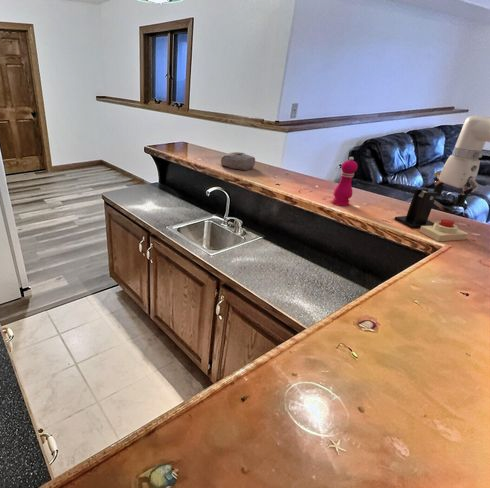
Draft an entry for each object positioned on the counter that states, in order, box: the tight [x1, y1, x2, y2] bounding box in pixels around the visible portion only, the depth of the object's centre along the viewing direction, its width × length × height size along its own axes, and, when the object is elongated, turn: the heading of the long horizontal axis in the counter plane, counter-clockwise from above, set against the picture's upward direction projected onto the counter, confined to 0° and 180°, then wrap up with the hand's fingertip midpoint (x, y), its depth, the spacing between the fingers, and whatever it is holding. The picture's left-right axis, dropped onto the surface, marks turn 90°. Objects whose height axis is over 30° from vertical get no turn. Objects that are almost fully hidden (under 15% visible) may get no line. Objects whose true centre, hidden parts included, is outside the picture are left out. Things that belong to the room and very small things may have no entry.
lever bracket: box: [393, 188, 438, 230], centre depth 128 cm, size 10×9×13 cm
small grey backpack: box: [219, 151, 256, 171], centre depth 204 cm, size 15×8×20 cm
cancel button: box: [440, 218, 455, 228], centre depth 120 cm, size 4×4×2 cm
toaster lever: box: [418, 190, 453, 214], centre depth 128 cm, size 14×5×2 cm, turn 99°
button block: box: [418, 220, 469, 242], centre depth 121 cm, size 11×8×4 cm
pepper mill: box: [332, 156, 359, 207], centre depth 146 cm, size 7×7×20 cm
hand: (446, 200), depth 129 cm, fingers open, 9 cm apart
